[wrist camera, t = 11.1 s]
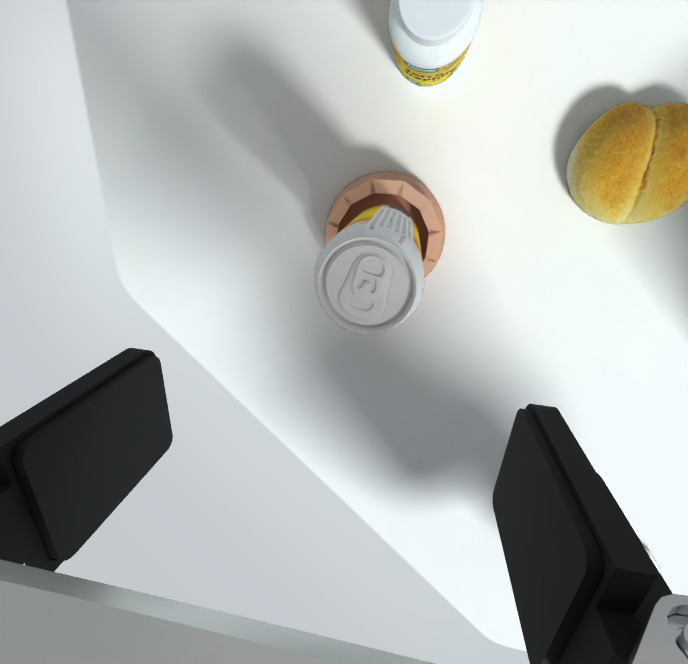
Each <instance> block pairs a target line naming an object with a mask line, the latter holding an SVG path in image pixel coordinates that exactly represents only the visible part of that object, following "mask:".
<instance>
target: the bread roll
mask: <svg viewBox="0 0 688 664" xmlns="http://www.w3.org/2000/svg"><path fill="white" fill-rule="evenodd" d="M566 178H567V182H568V187H569V191H570V194H571V196H572V198H573V200H574V202H575V203H576V205H577V206H578V207H579V208H580V209H581V210H582V211H583V212H585V213H586V214H587V215H588V216H591V217H593V218H594V219H596V220H599V221H601V222H605V223H610V224H623V223H640V222H646V221H650V220H653V219H657V218H660V217H662V216H665V215H667V214H669V213H671V212H673V211H674V210H676V209H677V208H679V207H680V206H682V205H683V204H684V203H685V202H686V201H687V200H688V104H685V103H667V104H662V105H658V106H655V107H649V108H647V107H646V106H644V105H643V104H640V103H637V102H625V103H622V104H619V105H616V106H614V107H612V108H611V109H609V110H608V111H606V112H605V113H604V114H602V115H601V116H600V117H599V118H598V119H597V120H596V121H594V122H593V123H592V124H591V125H590V127H589V128H588V129H587V130H586V131H585V132H584V134H583V135H582V136H581V138H580V139H579V140H578V142H577V143H576V145H575V146H574V148H573V150H572V152H571V154H570V157H569V160H568V164H567V173H566Z"/></svg>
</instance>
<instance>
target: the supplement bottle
mask: <svg viewBox="0 0 688 664" xmlns="http://www.w3.org/2000/svg"><path fill="white" fill-rule="evenodd" d="M482 8H483V0H391V2H390V7H389V30H390V36H391V41H392V47H393V53H394V57H395V61H396V64H397V67H398V69H399V71H400V72H401V74H402V75H403V76H404V77H405V78H406V79H407V80H408V81H409V82H411V83H412V84H414V85H417V86H420V87H430V86H435V85H438V84H440V83H442V82H444V81H445V80H447V79H448V78H449V77H450V76H451V75H452V74H453V73H454V72H455V71H456V70H457V68H458V67H459V65H460V64H461V62H462V61H463V59H464V57H465V55H466V53H467V50H468V48H469V46H470V44H471V42H472V40H473V38H474V36H475V33H476V31H477V29H478V26H479V23H480V19H481V15H482Z"/></svg>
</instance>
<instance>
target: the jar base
mask: <svg viewBox="0 0 688 664" xmlns="http://www.w3.org/2000/svg"><path fill="white" fill-rule="evenodd" d="M378 204H391V205H395V206H398V207H400V208H402V209H403V210H405V211H406V212H407V213H408V214H409V215H410V216H411V217H412V218H413V220H414V221H415V223H416V225H417V228H418V232H419V239H420V246H421V253H422V261H423V268H424V277H426V276H427V275H428V274H429V273H430V272H431V271H432V269H433V268H434V266H435V265H436V263H437V262H438V260H439V258H440V255H441V253H442V250H443V246H444V240H445V223H444V217H443V214H442V211H441V208H440V206H439V204H438V202H437V200H436V199H435V197H434V196H433V194H432V193H431V192H430V191H429V190H428V189H427V188H426V187H425V186H424V185H423V184H422V183H420V182H419V181H417V180H416V179H414V178H412V177H410V176H407V175H404V174H401V173H396V172H377V173H372V174H369V175H365V176H363V177H361V178H359V179H357V180H355V181H354V182H352V183H351V184H349V185H348V186H347V187H346V188H345V189H344V190H343V191H342V192H341V193H340V194H339V195H338V197H337V198H336V199H335V201H334V203H333V205H332V206H331V208H330V211H329V214H328V217H327V221H326V227H325V245H326V244H327V243H328V242H329V241H330V240H331V239H332V238H333V237H334V236H336V235H337V234H338V233H339V232H340V231H341V230H342V229H343V228H345V227H346V226H347V225H348V224H349V223H350V222H351V221H352V220H354V219H355V218H356V217H357V216H358V215H359V214H360V213H362V212H363V211H364V210H366V209H367V208H369V207H371V206H374V205H378Z"/></svg>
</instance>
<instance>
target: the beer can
mask: <svg viewBox="0 0 688 664" xmlns="http://www.w3.org/2000/svg"><path fill="white" fill-rule="evenodd" d="M314 282H315V289H316V293H317V296H318V298H319V301H320V303H321V305H322V307H323V308H324V310H325V312H326V313H327V314H328V316H329V317H330V318H331V319H332V320H333V321H334V322H336V323H337V324H338V325H340V326H341V327H343V328H345V329H347V330H350V331H352V332H356V333H361V334H375V333H380V332H384V331H387V330H389V329H391V328H394V327H396V326H398V325H399V324H401V323H402V322H404V321H405V320H406V319H407V318H409V316H410V315H411V314H412V313H413V312H414V311H415V309H416V308H417V306H418V304H419V302H420V300H421V297H422V294H423V290H424V282H425V277H424V268H423V261H422V253H421V246H420V239H419V232H418V228H417V225H416V223H415V221H414V220H413V218H412V217H411V216H410V215H409V214H408V213H407V212H406V211H405V210H403V209H402V208H400V207H398V206H395V205H391V204H378V205H374V206H371V207H369V208H367V209H366V210H364V211H363V212H362V213H360V214H359V215H358V216H357V217H356V218H355V219H354V220H352V221H351V222H350V223H349V224H348V225H347V226H346V227H345V228H343V229H342V230H341V231H340V232H339V233H338V234H337V235H336V236H334V237H333V238H332V239H331V240H330V241H329V242H328V243H327V244H326V245H325V247H324V248H323V250H322V251H321V253H320V255H319V257H318V260H317V263H316V267H315V273H314Z"/></svg>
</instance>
